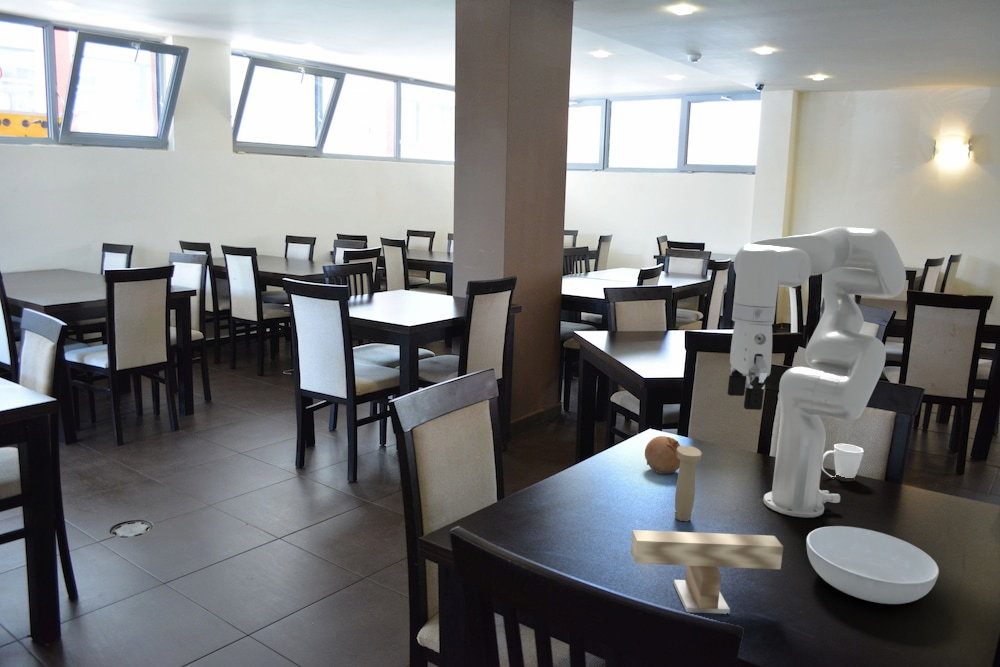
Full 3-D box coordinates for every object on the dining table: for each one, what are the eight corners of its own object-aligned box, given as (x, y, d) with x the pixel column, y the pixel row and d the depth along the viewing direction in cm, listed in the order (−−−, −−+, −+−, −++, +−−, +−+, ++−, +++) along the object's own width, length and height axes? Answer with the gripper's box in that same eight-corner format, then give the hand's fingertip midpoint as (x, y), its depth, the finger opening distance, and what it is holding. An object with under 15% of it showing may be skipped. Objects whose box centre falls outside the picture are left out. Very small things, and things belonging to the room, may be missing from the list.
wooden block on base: (713, 585, 130) (717, 549, 128) (729, 613, 121) (733, 575, 120) (673, 583, 130) (676, 547, 128) (686, 612, 121) (690, 573, 119)
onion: (676, 486, 183) (696, 456, 178) (643, 477, 181) (662, 447, 176) (666, 460, 191) (684, 431, 186) (633, 452, 189) (652, 422, 184)
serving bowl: (873, 630, 118) (879, 591, 117) (777, 568, 137) (781, 534, 136) (961, 608, 126) (967, 570, 125) (859, 552, 145) (864, 519, 144)
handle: (690, 513, 160) (697, 446, 157) (697, 526, 154) (704, 456, 151) (668, 511, 160) (674, 445, 157) (674, 524, 154) (680, 455, 151)
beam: (771, 557, 126) (774, 535, 125) (780, 569, 122) (783, 546, 122) (630, 552, 126) (632, 529, 125) (635, 563, 122) (636, 540, 121)
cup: (865, 484, 182) (870, 453, 180) (825, 483, 181) (829, 451, 180) (851, 474, 189) (855, 443, 187) (812, 472, 188) (816, 442, 187)
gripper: (791, 322, 131) (780, 415, 134) (757, 308, 148) (748, 391, 151) (749, 320, 131) (739, 414, 134) (719, 306, 148) (711, 389, 151)
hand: (743, 401), depth 143 cm, fingers open, 9 cm apart
